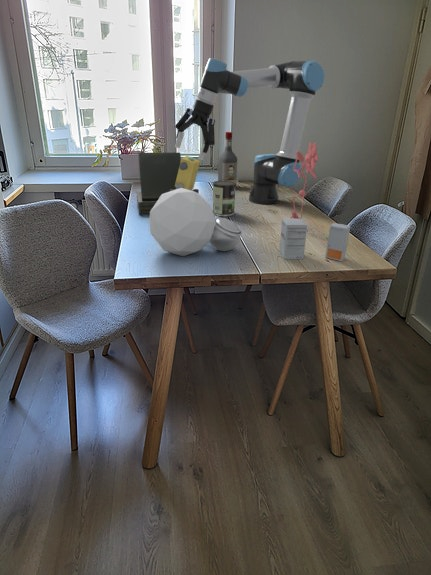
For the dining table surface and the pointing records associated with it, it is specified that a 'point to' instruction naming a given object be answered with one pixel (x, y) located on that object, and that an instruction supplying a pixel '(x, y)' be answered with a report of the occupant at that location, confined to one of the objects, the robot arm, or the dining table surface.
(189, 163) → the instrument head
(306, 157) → the figurine
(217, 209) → the coffee can
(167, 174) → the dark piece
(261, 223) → the dining table surface
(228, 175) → the liquor
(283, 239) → the supplement box
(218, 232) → the lamp
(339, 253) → the skincare box
